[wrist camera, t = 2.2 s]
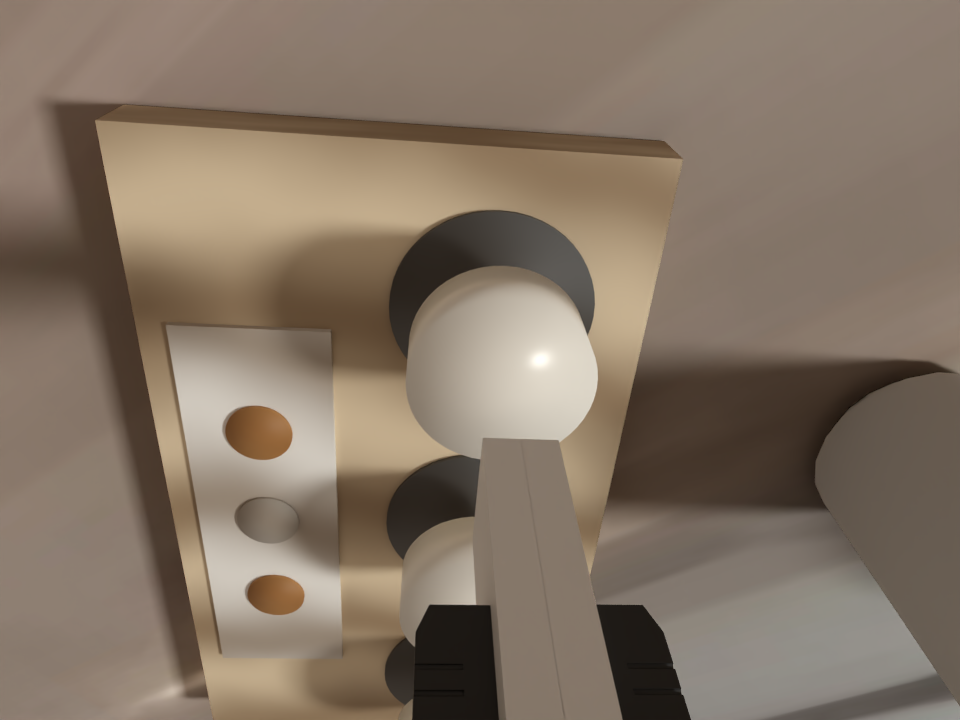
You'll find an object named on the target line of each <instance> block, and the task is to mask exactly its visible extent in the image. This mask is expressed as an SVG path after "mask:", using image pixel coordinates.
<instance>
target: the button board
mask: <svg viewBox="0 0 960 720" xmlns="http://www.w3.org/2000/svg"><path fill="white" fill-rule="evenodd" d="M95 124H96V129H97V134H98V139H99V144H100V149H101V154H102V159H103V164H104V169H105V174H106V179H107V184H108V189H109V194H110V199H111V205H112V210H113V215H114V220H115V225H116V230H117V235H118V240H119V245H120V250H121V255H122V260H123V265H124V270H125V275H126V281H127V286H128V291H129V296H130V301H131V306H132V311H133V316H134V321H135V326H136V331H137V336H138V341H139V346H140V351H141V357H142V362H143V367H144V372H145V377H146V382H147V387H148V392H149V397H150V402H151V407H152V412H153V417H154V422H155V427H156V432H157V438H158V443H159V448H160V453H161V458H162V463H163V468H164V473H165V478H166V483H167V488H168V493H169V498H170V503H171V508H172V514H173V519H174V524H175V529H176V534H177V539H178V544H179V549H180V554H181V559H182V564H183V569H184V574H185V579H186V584H187V590H188V595H189V600H190V605H191V610H192V615H193V620H194V625H195V630H196V635H197V640H198V645H199V650H200V655H201V660H202V666H203V671H204V676H205V681H206V686H207V691H208V696H209V701H210V706H211V711H212V716H213V720H398V718H399V715H400V712H401V711H402V709H403V707H404V706H405V705H406V704H407V703H408V702H409V701H410V700H412V699H413V678H414V656H415V647H414V646H413V645H412V644H411V643H410V642H409V641H408V639H407V638H406V637H405V635H404V633H403V631H402V629H401V625H400V618H399V613H400V597H401V582H402V567H403V560H404V557H405V554H406V552H407V551H408V549H409V547H410V546H411V544H412V543H413V542H414V541H415V540H416V539H417V538H418V537H419V536H420V535H421V534H423V533H424V532H425V531H427V530H429V529H430V528H432V527H434V526H436V525H438V524H441V523H443V522H446V521H449V520H453V519H458V518H464V517H475V509H476V499H477V489H478V479H479V469H480V459H476V458H470V457H467V456H464V455H461V454H458V453H456V452H454V451H451V450H449V449H447V448H446V447H444V446H442V445H440V444H439V443H438V442H436V441H435V440H434V439H432V438H431V437H430V436H429V435H428V434H427V433H426V432H425V431H424V430H423V429H422V427H421V426H420V425H419V423H418V422H417V420H416V419H415V417H414V415H413V413H412V411H411V408H410V406H409V403H408V399H407V394H406V371H407V359H408V347H409V336H410V331H411V327H412V323H413V321H414V318H415V316H416V313H417V312H418V310H419V308H420V307H421V305H422V304H423V302H424V301H425V300H426V299H427V297H428V296H429V295H430V294H431V293H432V292H433V291H434V290H435V289H437V288H438V287H439V286H440V285H442V284H443V283H445V282H446V281H447V280H449V279H451V278H453V277H455V276H457V275H459V274H461V273H464V272H467V271H469V270H473V269H477V268H481V267H488V266H512V267H519V268H523V269H527V270H531V271H533V272H536V273H538V274H541V275H543V276H544V277H546V278H548V279H550V280H551V281H553V282H554V283H556V284H557V285H558V286H560V287H561V288H562V289H563V290H564V291H565V292H566V293H567V294H568V296H569V297H570V298H571V300H572V301H573V302H574V304H575V306H576V308H577V309H578V311H579V314H580V316H581V319H582V322H583V325H584V327H585V330H586V333H587V336H588V339H589V341H590V344H591V347H592V350H593V352H594V355H595V358H596V363H597V368H598V382H597V390H596V394H595V397H594V401H593V403H592V405H591V407H590V410H589V411H588V413H587V415H586V416H585V418H584V419H583V421H582V422H581V423H580V424H579V426H578V427H577V428H576V429H575V430H574V431H573V432H572V433H571V434H570V435H568V436H567V437H566V438H565V439H563V440H562V441H561V442H559V444H560V448H561V453H562V457H563V461H564V466H565V470H566V475H567V479H568V483H569V488H570V492H571V496H572V501H573V505H574V509H575V514H576V518H577V523H578V527H579V531H580V536H581V540H582V544H583V549H584V553H585V557H586V562H587V566H588V571H589V575H590V573H591V569H592V564H593V560H594V555H595V551H596V546H597V542H598V538H599V533H600V529H601V524H602V520H603V515H604V511H605V506H606V502H607V497H608V493H609V488H610V484H611V479H612V475H613V471H614V466H615V462H616V457H617V453H618V448H619V444H620V439H621V435H622V430H623V426H624V421H625V417H626V412H627V408H628V404H629V399H630V395H631V390H632V386H633V381H634V377H635V372H636V368H637V363H638V359H639V354H640V350H641V345H642V341H643V337H644V332H645V328H646V323H647V319H648V314H649V310H650V305H651V301H652V296H653V292H654V287H655V283H656V278H657V274H658V270H659V265H660V261H661V256H662V252H663V247H664V243H665V238H666V234H667V229H668V225H669V220H670V216H671V211H672V207H673V203H674V198H675V194H676V189H677V185H678V180H679V176H680V171H681V167H682V162H683V158H681V157H680V156H679V155H678V154H677V153H676V152H675V151H674V150H673V149H672V148H671V147H670V146H669V145H668V144H667V143H666V142H664V141H653V140H638V139H624V138H609V137H594V136H579V135H565V134H550V133H535V132H521V131H506V130H491V129H477V128H462V127H447V126H433V125H418V124H403V123H388V122H374V121H359V120H344V119H330V118H315V117H300V116H286V115H271V114H256V113H242V112H227V111H212V110H197V109H183V108H168V107H153V106H139V105H122V106H120V107H118V108H117V109H115V110H113V111H111V112H109V113H107V114H105V115H104V116H102V117H100V118H98V119H96V120H95Z"/></svg>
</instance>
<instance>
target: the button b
mask: <svg viewBox="0 0 960 720" xmlns="http://www.w3.org/2000/svg"><path fill="white" fill-rule="evenodd" d="M474 519H475V517H464V518H458V519H453V520H449V521H446V522H443V523H441V524H438V525H436V526H434V527H432V528H430V529H429V530H427V531H425V532H424V533H423V534H421V535H420V536H419V537H418V538H417V539H416V540H415V541H414V542H413V543H412V544H411V546H410V547H409V549H408V551H407V552H406V554H405V557H404V560H403V567H402V582H401V597H400V613H399V618H400V625H401V629H402V631H403V633H404V635H405V637H406V638H407V639H408V641H409V642H410V643H411V644H412V645H413V646H414V647H415V634H416V630H417V628H418V626H419V624H420V622H421V620H422V618H423V616H424V614H425V612H426V610H427V608H428V606H429V604H432V605H476V593H475V574H474V556H473V529H474Z"/></svg>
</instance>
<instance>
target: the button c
mask: <svg viewBox="0 0 960 720" xmlns="http://www.w3.org/2000/svg"><path fill="white" fill-rule="evenodd" d="M597 382H598V368H597V363H596V358H595V355H594V352H593V350H592V347H591V344H590V341H589V339H588V336H587V333H586V330H585V327H584V325H583V322H582V319H581V316H580V314H579V311H578V309H577V308H576V306H575V304H574V302H573V301H572V300H571V298H570V297H569V296H568V294H567V293H566V292H565V291H564V290H563V289H562V288H561V287H560V286H558V285H557V284H556V283H554V282H553V281H551V280H550V279H548V278H546V277H544V276H543V275H541V274H538V273H536V272H533V271H531V270H527V269H523V268H519V267H512V266H488V267H481V268H477V269H473V270H469V271H467V272H464V273H461V274H459V275H457V276H455V277H453V278H451V279H449V280H447V281H446V282H445V283H443V284H442V285H440V286H439V287H438V288H437V289H435V290H434V291H433V292H432V293H431V294H430V295H429V296H428V297H427V299H426V300H425V301H424V302H423V304H422V305H421V307H420V308H419V310H418V312H417V313H416V316H415V318H414V321H413V323H412V327H411V331H410V336H409V347H408V359H407V371H406V394H407V399H408V403H409V406H410V408H411V411H412V413H413V415H414V417H415V419H416V420H417V422H418V423H419V425H420V426H421V427H422V429H423V430H424V431H425V432H426V433H427V434H428V435H429V436H430V437H431V438H432V439H434V440H435V441H436V442H438V443H439V444H440V445H442V446H444V447H446V448H447V449H449V450H451V451H454V452H456V453H458V454H461V455H464V456H467V457H470V458H476V459H481V449H482V439H483V438H508V439H541V440H559V442H561V441H562V440H563V439H565V438H566V437H567V436H568V435H570V434H571V433H572V432H573V431H574V430H575V429H576V428H577V427H578V426H579V424H580V423H581V422H582V421H583V419H584V418H585V416H586V415H587V413H588V411H589V410H590V407H591V405H592V403H593V401H594V397H595V394H596V390H597Z"/></svg>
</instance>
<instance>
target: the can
mask: <svg viewBox="0 0 960 720" xmlns="http://www.w3.org/2000/svg"><path fill="white" fill-rule="evenodd" d="M815 485H816V487H817V489H818V491H819V494H820V496H821V498H822V501H823V502H824V504H825V505H826V507H827V508H828V510H829V511H830V513H831V514H832V516H833V517H834V519H835V520H836V522H837V523H838V525H839V526H840V528H841V529H842V531H843V532H844V534H845V535H846V537H847V538H848V540H849V541H850V543H851V544H852V546H853V547H854V549H855V550H856V552H857V553H858V555H859V556H860V558H861V559H862V561H863V562H864V564H865V565H866V567H867V568H868V570H869V571H870V573H871V574H872V576H873V577H874V579H875V580H876V582H877V583H878V585H879V586H880V588H881V589H882V591H883V592H884V594H885V595H886V597H887V598H888V600H889V601H890V603H891V604H892V605H893V607H894V608H895V610H896V611H897V613H898V614H899V616H900V617H901V619H902V620H903V622H904V623H905V625H906V626H907V628H908V629H909V631H910V632H911V634H912V635H913V637H914V638H915V640H916V641H917V643H918V644H919V646H920V647H921V649H922V650H923V652H924V653H925V655H926V656H927V658H928V659H929V661H930V662H931V664H932V665H933V667H934V668H935V670H936V671H937V673H938V674H939V676H940V677H941V679H942V680H943V682H944V683H945V685H946V686H947V688H948V689H949V691H950V692H951V694H952V695H953V697H954V698H955V700H956V701H957V703H958V704H959V706H960V374H956V373H940V372H937V373H932V374H927V375H922V376H917V377H912V378H907V379H904V380H902V381H899V382H894V383H892V384H889V385H887V386H885V387H883V388H881V389H878V390H876V391H874V392H872V393H869V394H868V395H867V396H865V397H864V398H863V399H861V400H860V401H859V402H857V403H856V404H855V405H853V406H852V407H850V408H849V409H848V410H847V411H846V413H845V414H844V415H843V416H842V417H841V419H840V420H839V421H838V422H837V423H836V425H835V426H834V427H833V429H832V430H831V432H830V433H829V434H828V435H827V436H826V438H825V441H824V443H823V445H822V448H821V450H820V452H819V454H818V457H817V459H816V467H815Z"/></svg>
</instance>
